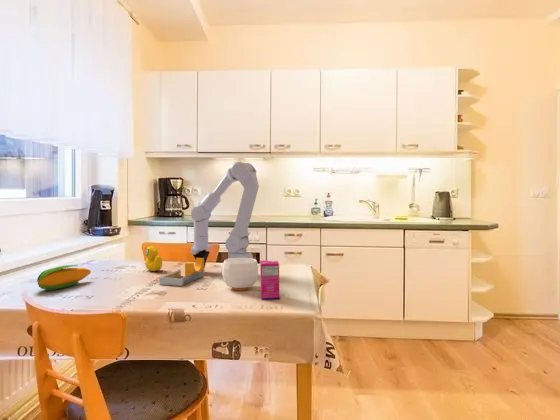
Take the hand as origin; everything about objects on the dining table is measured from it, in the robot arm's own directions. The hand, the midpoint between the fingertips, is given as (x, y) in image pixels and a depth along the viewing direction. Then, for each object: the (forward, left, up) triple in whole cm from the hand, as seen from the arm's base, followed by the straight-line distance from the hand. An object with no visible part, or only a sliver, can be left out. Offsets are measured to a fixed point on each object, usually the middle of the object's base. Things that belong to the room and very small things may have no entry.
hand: (201, 269), depth 168 cm
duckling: (+20, +4, -1) cm, 20 cm away
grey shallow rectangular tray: (0, +17, -1) cm, 17 cm away
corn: (+34, +35, -1) cm, 49 cm away
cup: (-25, +21, -1) cm, 32 cm away
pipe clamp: (-1, +9, -1) cm, 9 cm away
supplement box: (-38, +29, -1) cm, 48 cm away
